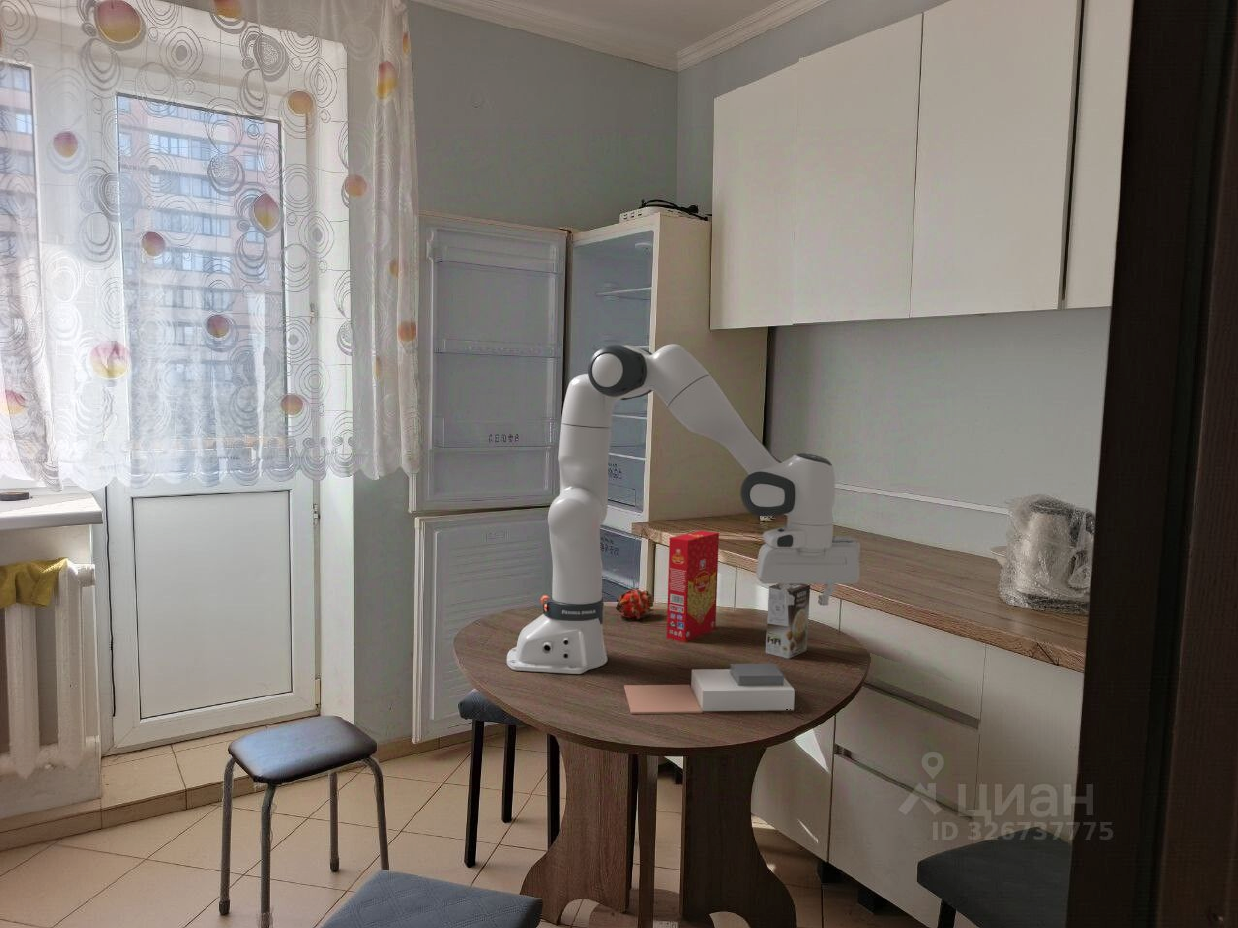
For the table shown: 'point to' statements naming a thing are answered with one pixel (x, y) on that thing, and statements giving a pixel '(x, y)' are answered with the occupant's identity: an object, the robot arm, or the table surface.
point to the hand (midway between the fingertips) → (806, 604)
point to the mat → (661, 699)
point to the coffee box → (787, 621)
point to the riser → (737, 693)
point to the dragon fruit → (634, 604)
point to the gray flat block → (757, 675)
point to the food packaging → (692, 585)
